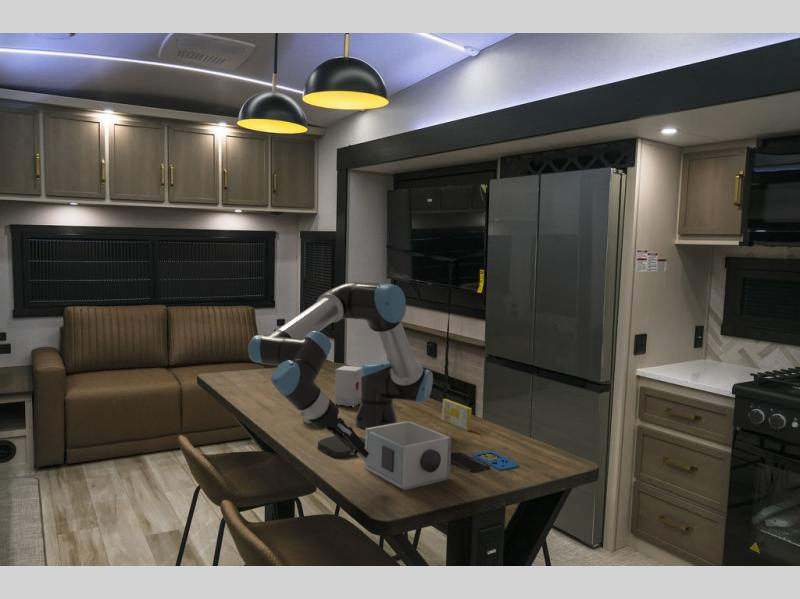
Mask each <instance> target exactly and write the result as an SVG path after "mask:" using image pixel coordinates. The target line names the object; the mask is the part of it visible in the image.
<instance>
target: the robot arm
mask: <svg viewBox="0 0 800 599" xmlns="http://www.w3.org/2000/svg"><path fill="white" fill-rule="evenodd" d="M406 302H407V300H406V296H405V294H404V291H403V290H402V288H401V287H399V286H398V285H396V284H390V283H387V282H383V283H382V282H381V283H380V282H379V283H378V282H360V281H359V282H358V281H353V282H346V283H343V284H340V285H338V286H335V287H333V288H331V289H329V290H327V291H326V292H324V293H323V294H321V295H320V296H319V297H318V298H317V300H316V302H314V304H312V305H311V306H309V307H308V308H307V309H305V310H303V311H302V312H300V313H299V314H298V315H296V316H295V317H293V318H292V319H290V320H289V321H287V322H286V323H285V324H282V326H280V327H279V328H277V329H276V330H275V331H273V332H271V333H270V334H269V335H266V334H256V335H254V336H253V337H252V338H251V339H250V341H249V343H248V346H247V353H248V357H249V359H250V360H251V361H252V362H254V363H258V364H262V365H272V366H277V367H276V368H275V369H274V370H273V372H272V373H271V376H270V382H271V383H272V385H273V386H274V388H275V389H276V390H277V391H278V392H279V394H280V395H281V396H283V397H284V398H285V399H286V400H288V402H290V403H291V404H292V405H293V406H294V408H296V409H297V411H299V412H300V413H299V415H300V416H301V417H303V415H304V416H305V417H306V418H308V419H309V421H310V422H311V423H312V425H313V426H314V427H316V429H318V430H325V429H326V430H327V431H328V432H330V433H331V434H332V435H333V436H336V437H337V438H338V439H339V440H340V441H341V442H342V443H344V444H345V446H347V447H349V448H350V449H352V450H353V449H354V450H353V451H354V452H353V453H354V454H357V456H358V457H359V458H360V459H361V460H362V461H363V462H364V464H365V463H366V464H367V465H369V466H370V465H371V464H372V463H373V461H374V460H375V459H376V457H375V456H374V455H373V454H372V453H371V452H370V451H369V450H368V449H367V448H366V447H365V446H366V445H365V444H364V443H363V442H362V440H361V439H360V438H359V437H360V436H359V435H357V434H356V432H355V430H354V429H353V427H352V426H348V425H347V424H346V423H345V421H344V419H342V418H341V417H339V413H340V409H339V406H338V405H335V402H334V401H333V400H331V399H330V397H329V396H328V395H327V394H326V393H325V392H324V391H323V390H322V389H321V388H320V387H319V386H318V385H317V384H316V383H315V381H316V378H317V377H318V374H319V373H320V371H321V369H322V368H323V366H324V363H325V362H326V360H327V359H328V357H329V354H330V351H331V350H332V342H331V341H330V338H329V337H328V336H327V335H326V334H324V333H322V332H320V331H322V330H323V329H325V328H326V327H328V326H329V325H330V324H332V323H338V322H339V321H341V320H344V319H346V320H347V319H350V320H351V319H354V320H364V321H366V324H367V325H368V327H369V329H370V330H371V331H373V332H376V335H377V337H378V339H379V341H380V344H381V346H382V348H383V351H384V353H385V355H386V358H387V360H377V361H372V362H366V363H364V364H363V365H362V373H361V403H360V404H359V408H358V410H357V414H356V417H355V425H357V426H356V427H358V428H361V429H364V430H365V428H371V427H377V426H382V425H388V424H393V423H398V419H397V414H396V411H395V409H394V404H393V403H394V402H393V400H400V401H407V402H412V403H421V404H423V403H425V402H427V401H428V400H429V398H430V395H431V393H432V388H433V383H434V375H433V374H434V373H433V372H432V370H430V369H424V366H423V365H422V363H421V362H420V361H419V359H416V358H415V356H414V355H415V354H414V353H413V350H412V347H411V344H410V343H409V340H408V337H407V334H406V331H405V329H404V325H403V324H402V321H403V319H404V317H405V315H406V312H407V304H406Z"/></svg>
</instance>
